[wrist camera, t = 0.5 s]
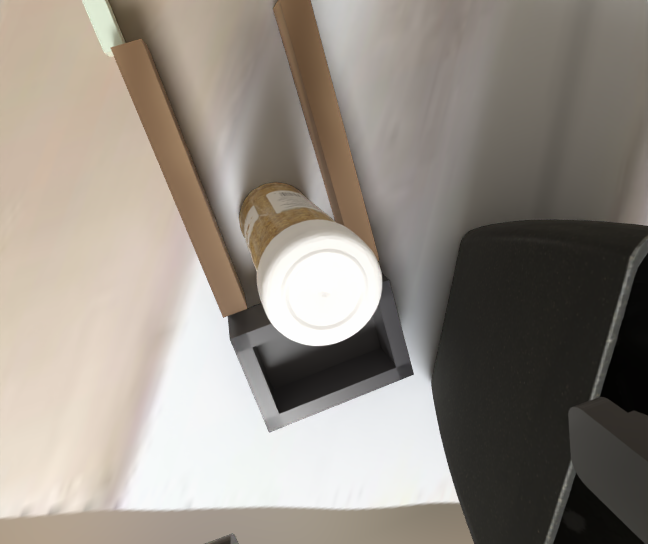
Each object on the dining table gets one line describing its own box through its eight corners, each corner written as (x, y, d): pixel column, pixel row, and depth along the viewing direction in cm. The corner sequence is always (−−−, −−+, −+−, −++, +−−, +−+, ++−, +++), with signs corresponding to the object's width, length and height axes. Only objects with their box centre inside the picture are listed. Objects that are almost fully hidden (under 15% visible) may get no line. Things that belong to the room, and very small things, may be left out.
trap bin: (370, 263, 32) (389, 279, 28) (394, 350, 34) (413, 374, 31) (227, 315, 31) (229, 339, 27) (263, 401, 33) (269, 432, 30)
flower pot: (428, 172, 31) (653, 229, 15) (658, 199, 35) (1009, 265, 20) (381, 424, 36) (511, 658, 20) (586, 418, 41) (819, 605, 25)
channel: (298, 1, 26) (307, -10, 24) (366, 249, 31) (379, 260, 29) (119, 54, 25) (110, 47, 22) (222, 302, 30) (223, 317, 28)
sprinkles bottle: (223, 222, 29) (234, 304, 16) (272, 164, 28) (321, 202, 16) (280, 267, 30) (329, 372, 18) (327, 213, 30) (410, 281, 18)
